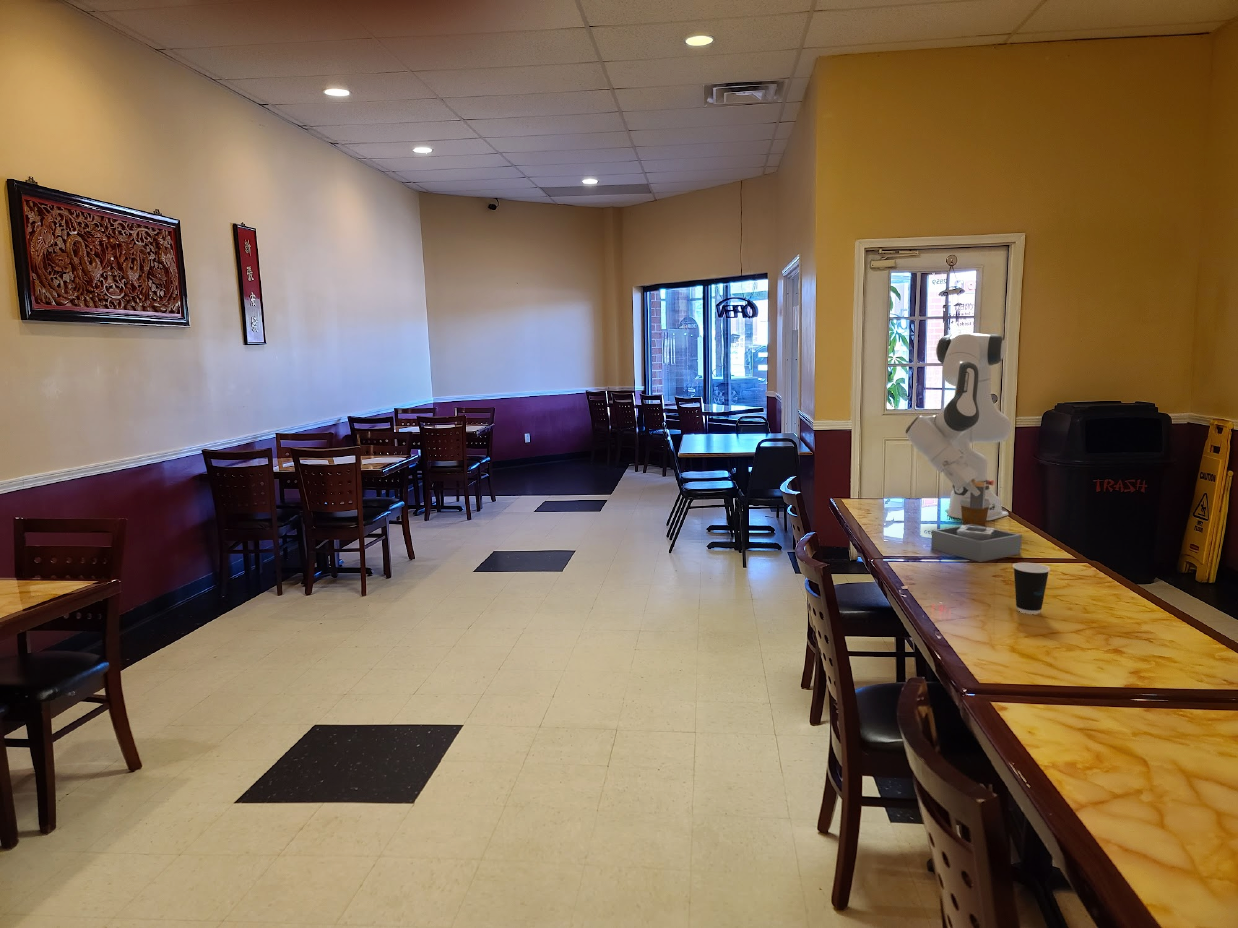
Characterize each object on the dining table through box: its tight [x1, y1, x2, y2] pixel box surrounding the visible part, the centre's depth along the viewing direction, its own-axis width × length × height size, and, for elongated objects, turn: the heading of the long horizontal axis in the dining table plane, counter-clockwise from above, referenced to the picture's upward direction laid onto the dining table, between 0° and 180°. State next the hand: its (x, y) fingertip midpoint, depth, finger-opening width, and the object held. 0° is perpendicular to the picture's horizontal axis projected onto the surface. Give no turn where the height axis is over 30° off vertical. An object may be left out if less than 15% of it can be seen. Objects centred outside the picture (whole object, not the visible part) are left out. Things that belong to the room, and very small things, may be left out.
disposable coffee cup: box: [960, 497, 990, 527], centre depth 261 cm, size 10×10×12 cm
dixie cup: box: [1012, 562, 1051, 615], centre depth 184 cm, size 8×8×11 cm
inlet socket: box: [957, 524, 996, 541], centre depth 239 cm, size 9×9×6 cm
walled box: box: [930, 524, 1023, 563], centre depth 239 cm, size 18×18×6 cm
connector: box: [970, 481, 986, 509], centre depth 237 cm, size 4×4×8 cm
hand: (980, 493), depth 237 cm, fingers closed on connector, 4 cm apart
